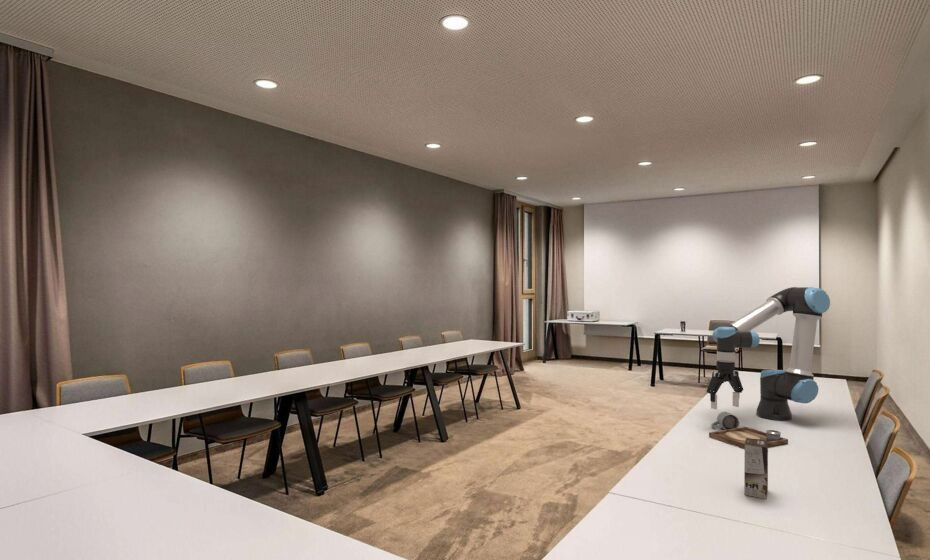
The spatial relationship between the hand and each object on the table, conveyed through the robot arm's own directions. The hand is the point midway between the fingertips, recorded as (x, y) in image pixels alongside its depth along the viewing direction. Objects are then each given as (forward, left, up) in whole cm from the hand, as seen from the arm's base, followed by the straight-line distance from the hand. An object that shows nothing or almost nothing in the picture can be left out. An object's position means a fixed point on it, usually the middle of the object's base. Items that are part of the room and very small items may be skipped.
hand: (724, 407), depth 238 cm
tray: (+6, +16, -10) cm, 20 cm away
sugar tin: (-1, +23, -10) cm, 25 cm away
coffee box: (+51, +55, -10) cm, 75 cm away
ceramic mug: (0, 0, -10) cm, 10 cm away
